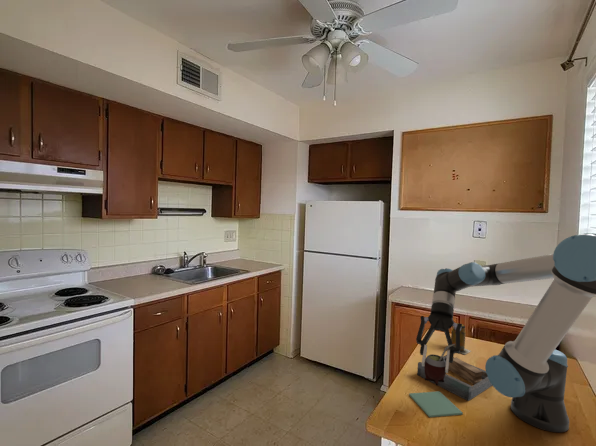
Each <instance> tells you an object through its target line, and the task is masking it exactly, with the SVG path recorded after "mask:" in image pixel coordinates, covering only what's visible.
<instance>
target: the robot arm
mask: <svg viewBox="0 0 596 446" xmlns="http://www.w3.org/2000/svg"><path fill="white" fill-rule="evenodd" d="M550 279H553V281H552V282H551V283H550V285H549V287H548V288H547V289H546V291H545V293H544V294H543V296H542V298H541V299H540V301H539V302H538V304H537V306H535V309H534V310H533V312H532V313H531V315H530V317H529V318H528V319H527V321H526V323H525V324H524V326H523V327H522V329H521V331H520V332H519V334H517V337H516V339H515V340H513V341H512V340H509V341H507V342H505V344H504V346H503V347H502V348H501V350H500V352H499V353H498V354H497V355H496V354H494V355H492V356H490V357H489V358H488V359H487V360H486V361H485V364H484V365H485V366H484V370H485V371H486V373H487V375H488V379H489V381H490V383H491V384H492V387H493V388H494V389H495V390H496V391H497V392H498V393H499V394H501V395H503V396H505V397H508V398H511V401H510V409H511V412H513V414H514V415H515V416H516V417H518V419H520V420H521V421H523V422H525V423H527V424H529V425H531V426H532V427H535V428H537V429H541V430H543V431H547V432H552V433H564V432H567V431H568V430H569V429H570V428H569V427H570V418H569V415H568V413H567V408H566V404H565V391H566V382H567V381H566V380H567V373H568V367H569V366H568V358H567V356H566V354H564V352H562V351H560V350H557V349H556V348H557V347H559V345H560V343H561V342H562V341H563V339H564V337H565V336H566V335H567V334H568V332H569V331H570V329H571V328H572V326H573V325H574V324H575V322H576V320H577V319H578V318H579V316H580V315H581V314H582V313H583V311H584V310H585V308H586V307H587V305H588V304H589V303H590V301H591V300H592V299H593V298H594V297H596V233H594V232H593V233H591V232H590V233H587V232H586V233H585V232H583V233H579V234H575V235H572V236H568V237H566V238H564V239H563V240H562V241H560V242H559V243H558V244H557V245H556V247H555V248H554V251H553V253H550V254H544V255H539V256H533V257H528V258H527V257H526V258H523V259H522V258H521V259H516V260H511V261H505V262H499V263H492V264H488V265H487V264H485V265H484V264H483V265H481V264H480V263H477V262H475V261H472V262H468V263H465V264H463V265H461V266H458V267H457V268H455V269H451V268H441V269H439V270H437V273H436V276H435V280H434V287H433V294H432V301H431V307H430V314H429V316H424V315H421V316H420V325H419V326H418V330H417V331H418V332H417V334H416V338H415V342H416V343H417V344H418V345H420V350H419V355H420V356H422V359H421V362H422V366H425V359H426V357H427V353H428V352H427V351H428V345H427V344H428V342H429V341H430V340H431V337H432V336H433V333H434V332H435V331H439V332H443V333H444V335H445V338H446V343H447V346H449V345H452V340H451V334H450V329H451V328H453V326H454V329H455V330H456V348H453V346H451V347H449V349H447V351H446V355H447V359H446V368H445V372H446V374H449V369H448V367H449V362H450V363H452V362H453V357H454V355H455V354H457V355H458V354H461V353H460V331H461V328H462V325H461V324H462V323H459V322H454V308H455V301H456V293H457V292H459V291H461V290H465V289H467V288H470V287H484V286H500V285H504V284H514V283H522V282H532V281H534V282H535V281H541V280H543V281H544V280H550ZM427 322H429V323H430V326H429V328H428V330H427V332H426V334H425V335H424V337H423V334H424V330H425V326H426V324H427ZM457 323H459V324H457Z"/></svg>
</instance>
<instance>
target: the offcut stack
mask: <svg viewBox="0 0 596 446" xmlns="http://www.w3.org/2000/svg"><path fill="white" fill-rule="evenodd" d="M471 365H472V364H471V363H467V362H466V361H464V360H462V359H461V358H458V357H454V358H453V362H452V363H450V362H449V367H448V371H451V372H452V373H454V374H456V375H458V376H459V377H460V378H462V379H463V380H465V381H467V382H469V383H471V385H475V384H477V383H478V382H480V381H481V380H483V379H482V378H481V376H482V371H481V370H479V369H477V368H478V367H477V368H475V367H476V366H475V367H473V366H474V365H473V366H471Z"/></svg>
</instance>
